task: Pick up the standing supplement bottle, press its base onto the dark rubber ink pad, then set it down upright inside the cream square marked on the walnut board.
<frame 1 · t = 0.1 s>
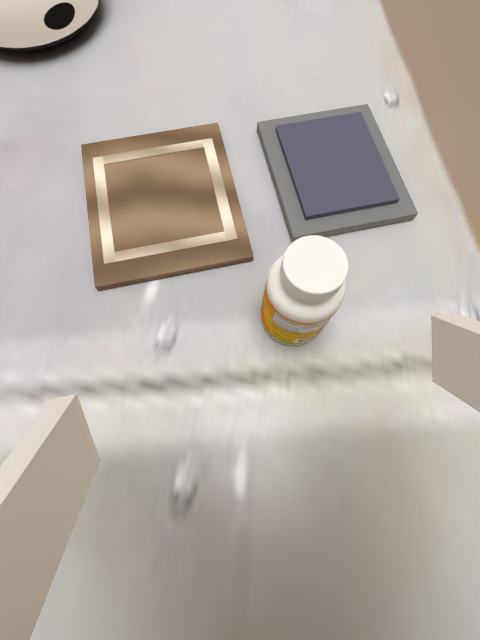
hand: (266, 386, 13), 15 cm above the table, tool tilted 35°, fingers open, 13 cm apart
marking board: (163, 202, 33), on the table
supplement bottle: (291, 317, 30), on the table
milk container: (38, 19, 42), on the table
ink pad: (331, 172, 35), on the table
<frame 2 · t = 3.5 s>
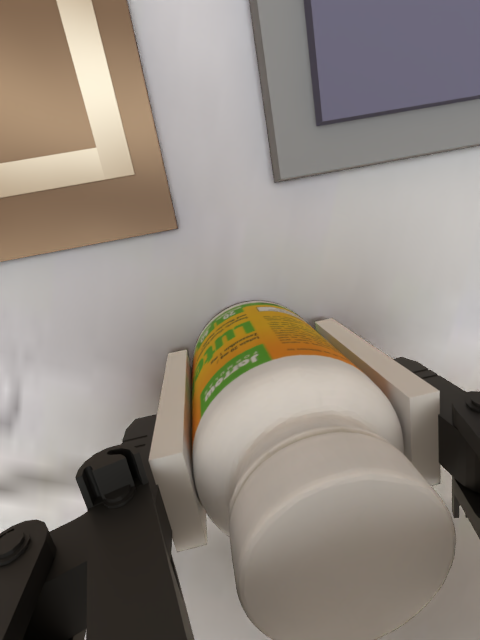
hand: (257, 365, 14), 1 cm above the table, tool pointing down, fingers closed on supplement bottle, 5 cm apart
supplement bottle: (253, 356, 15), on the table, touching gripper
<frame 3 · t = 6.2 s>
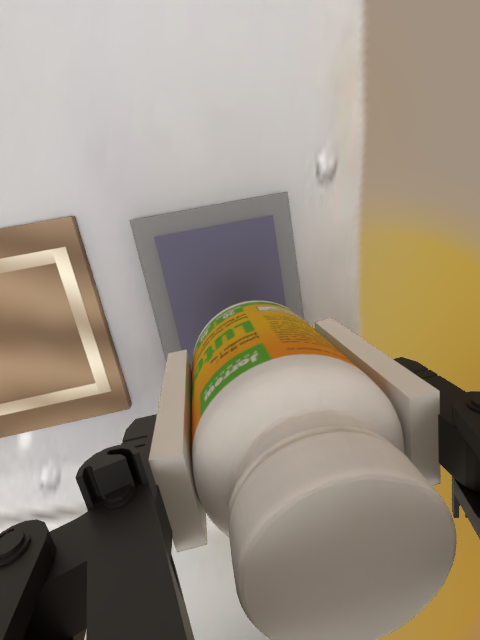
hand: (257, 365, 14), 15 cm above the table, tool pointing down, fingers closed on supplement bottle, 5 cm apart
marking board: (16, 335, 27), on the table
supplement bottle: (253, 356, 15), point 14 cm above the table, touching gripper
ink pad: (226, 293, 29), on the table
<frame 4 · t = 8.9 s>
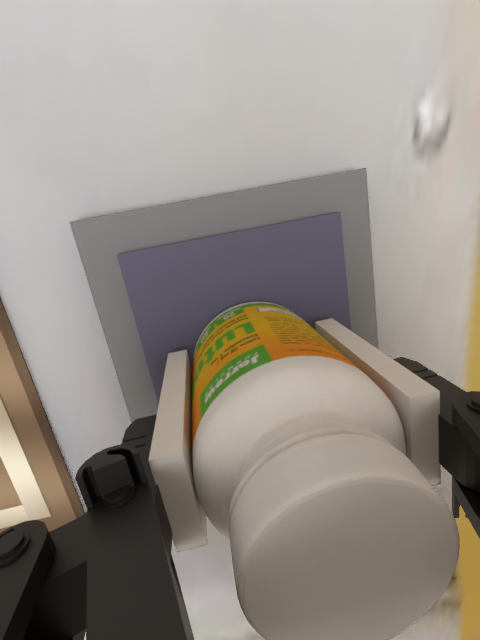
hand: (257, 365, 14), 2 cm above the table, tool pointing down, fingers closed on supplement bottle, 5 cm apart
supplement bottle: (253, 357, 15), point 1 cm above the table, touching gripper, ink pad
ink pad: (248, 347, 17), on the table
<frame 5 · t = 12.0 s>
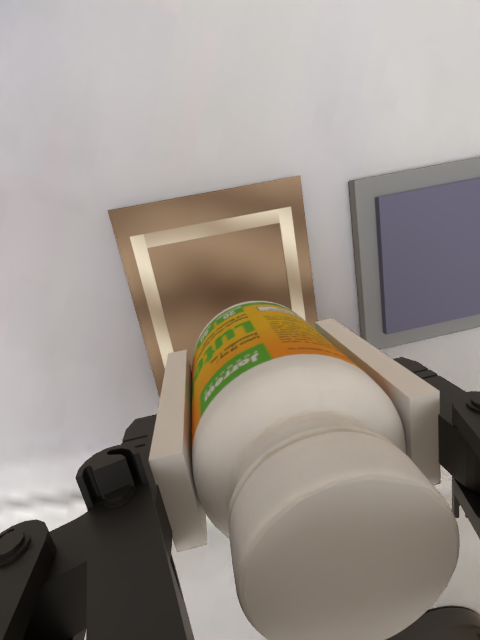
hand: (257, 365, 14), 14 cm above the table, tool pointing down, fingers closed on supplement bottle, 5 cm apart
marking board: (226, 297, 28), on the table
supplement bottle: (253, 356, 15), point 13 cm above the table, touching gripper
ink pad: (423, 257, 29), on the table
when the fingers open (3 cm above the table, at t = 14.5 s): supplement bottle drops 1 cm, resting on marking board.
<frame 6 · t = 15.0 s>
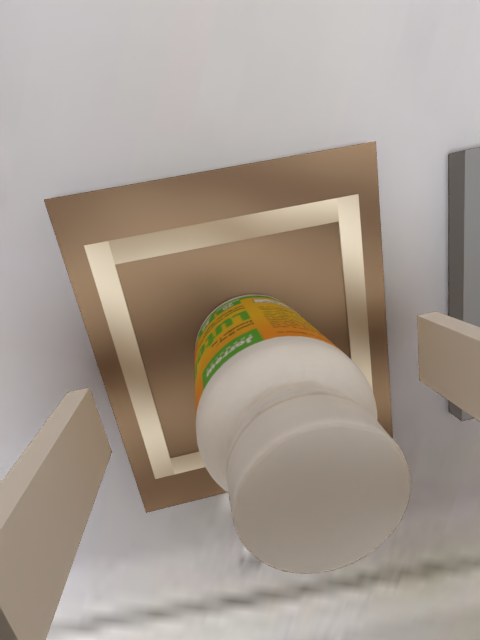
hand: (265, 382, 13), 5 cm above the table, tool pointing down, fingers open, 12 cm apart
marking board: (246, 341, 17), on the table
supplement bottle: (250, 345, 17), point 1 cm above the table, touching marking board
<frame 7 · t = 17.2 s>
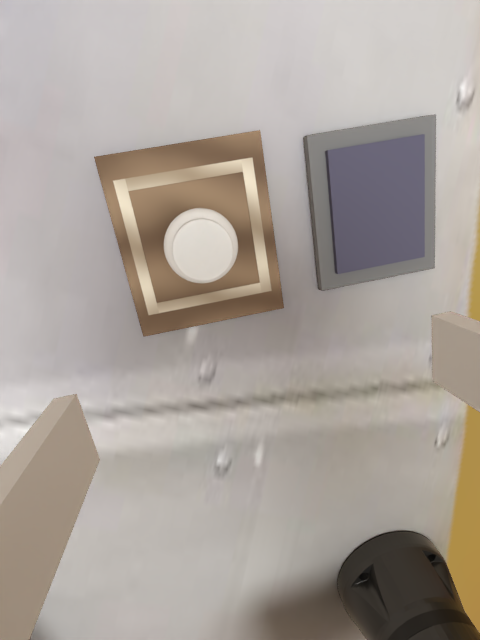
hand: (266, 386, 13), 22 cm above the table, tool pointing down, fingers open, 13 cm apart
marking board: (198, 239, 32), on the table
supplement bottle: (199, 239, 31), point 1 cm above the table, touching marking board
ink pad: (370, 207, 33), on the table
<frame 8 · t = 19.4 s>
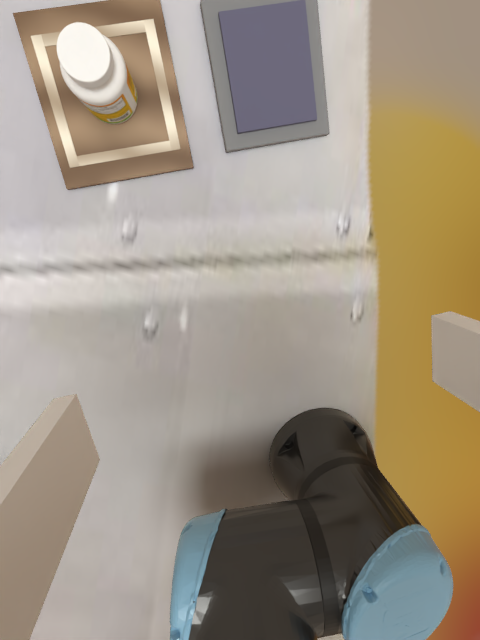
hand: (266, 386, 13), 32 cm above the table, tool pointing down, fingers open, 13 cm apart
marking board: (112, 98, 36), on the table
supplement bottle: (111, 97, 36), point 1 cm above the table, touching marking board
ink pad: (267, 74, 38), on the table
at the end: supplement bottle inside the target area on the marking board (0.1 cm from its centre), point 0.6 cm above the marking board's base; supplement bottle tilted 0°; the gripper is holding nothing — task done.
